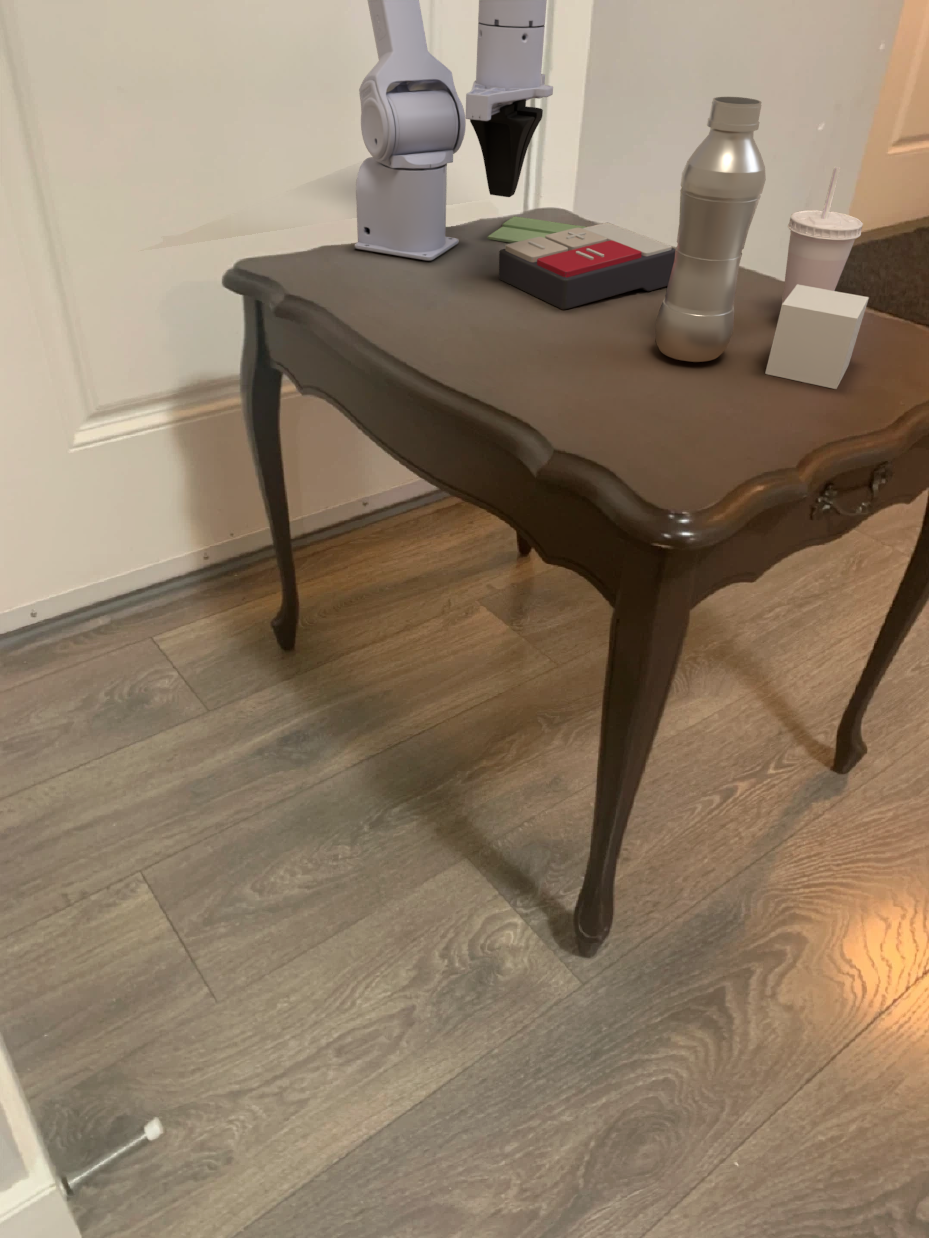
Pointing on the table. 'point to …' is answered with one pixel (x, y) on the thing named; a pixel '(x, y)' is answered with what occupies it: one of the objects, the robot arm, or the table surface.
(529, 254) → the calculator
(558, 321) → the table surface
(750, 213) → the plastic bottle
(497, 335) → the table surface
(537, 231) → the cloth
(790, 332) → the off-white cube
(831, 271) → the smoothie
